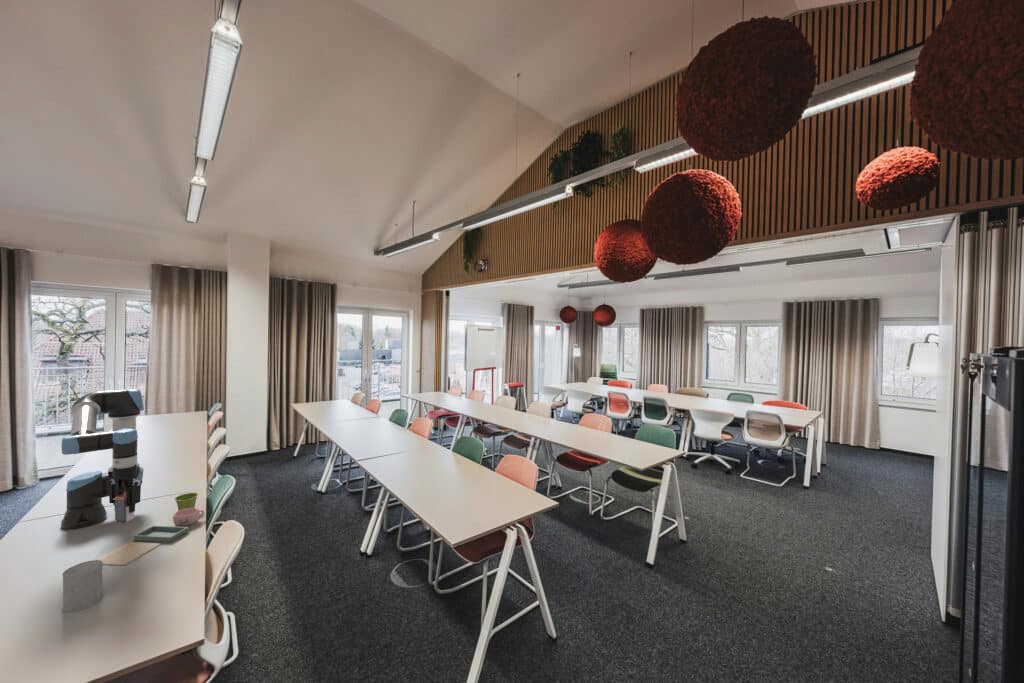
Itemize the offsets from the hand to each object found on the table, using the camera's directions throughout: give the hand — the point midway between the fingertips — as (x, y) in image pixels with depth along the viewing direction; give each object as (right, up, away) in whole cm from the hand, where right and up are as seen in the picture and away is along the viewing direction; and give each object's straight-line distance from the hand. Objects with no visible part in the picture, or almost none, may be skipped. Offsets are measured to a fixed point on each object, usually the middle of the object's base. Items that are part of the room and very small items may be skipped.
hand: (124, 519), depth 166 cm
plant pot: (-4, -14, +36) cm, 39 cm away
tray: (+4, -14, +13) cm, 20 cm away
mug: (+6, -14, +26) cm, 30 cm away
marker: (0, -1, 0) cm, 1 cm away
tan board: (+2, -15, -1) cm, 15 cm away
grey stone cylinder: (+15, -16, -30) cm, 37 cm away
